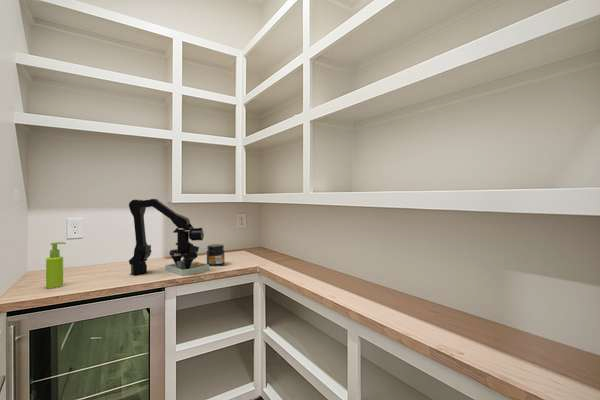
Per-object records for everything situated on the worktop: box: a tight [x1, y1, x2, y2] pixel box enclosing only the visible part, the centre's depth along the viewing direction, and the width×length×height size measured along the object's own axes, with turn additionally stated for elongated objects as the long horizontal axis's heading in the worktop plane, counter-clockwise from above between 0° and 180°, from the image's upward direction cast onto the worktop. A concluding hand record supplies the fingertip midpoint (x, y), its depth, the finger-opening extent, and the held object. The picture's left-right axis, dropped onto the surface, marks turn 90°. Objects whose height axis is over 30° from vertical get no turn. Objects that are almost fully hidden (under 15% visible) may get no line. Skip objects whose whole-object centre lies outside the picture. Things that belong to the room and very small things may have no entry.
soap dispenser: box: [45, 241, 67, 289], centre depth 129 cm, size 6×7×20 cm
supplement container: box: [206, 243, 226, 267], centre depth 170 cm, size 10×10×12 cm
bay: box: [164, 260, 210, 277], centre depth 155 cm, size 16×19×4 cm
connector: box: [177, 259, 194, 270], centre depth 152 cm, size 8×4×6 cm, turn 141°
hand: (183, 269), depth 151 cm, fingers open, 9 cm apart
